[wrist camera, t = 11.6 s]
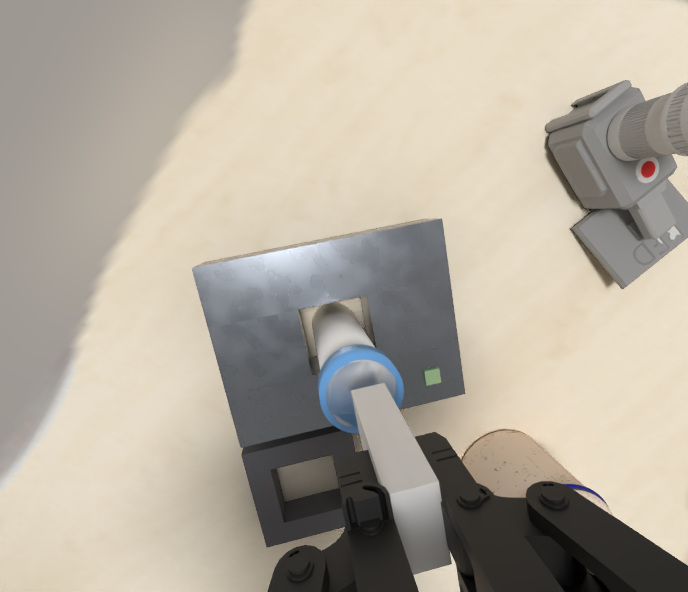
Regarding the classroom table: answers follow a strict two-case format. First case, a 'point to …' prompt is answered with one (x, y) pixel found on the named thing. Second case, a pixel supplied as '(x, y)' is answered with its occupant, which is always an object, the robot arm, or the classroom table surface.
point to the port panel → (321, 288)
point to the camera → (625, 174)
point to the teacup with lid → (519, 466)
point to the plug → (348, 364)
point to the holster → (302, 513)
